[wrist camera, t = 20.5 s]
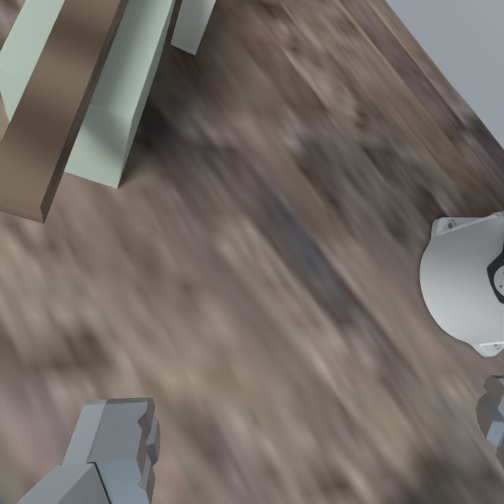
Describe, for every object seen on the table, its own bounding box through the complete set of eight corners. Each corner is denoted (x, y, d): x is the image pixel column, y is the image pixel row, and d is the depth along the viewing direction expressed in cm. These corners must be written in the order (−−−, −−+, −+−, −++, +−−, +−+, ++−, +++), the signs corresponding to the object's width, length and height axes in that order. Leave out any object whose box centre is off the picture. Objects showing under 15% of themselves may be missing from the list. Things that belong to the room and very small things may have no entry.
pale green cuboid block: (75, 26, 44) (73, -96, 32) (159, 62, 47) (185, -39, 35) (19, 156, 39) (-7, 66, 27) (117, 188, 41) (132, 119, 30)
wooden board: (108, -66, 33) (111, -104, 30) (146, -47, 34) (152, -83, 31) (-10, 208, 25) (-21, 189, 22) (44, 223, 26) (39, 207, 23)
